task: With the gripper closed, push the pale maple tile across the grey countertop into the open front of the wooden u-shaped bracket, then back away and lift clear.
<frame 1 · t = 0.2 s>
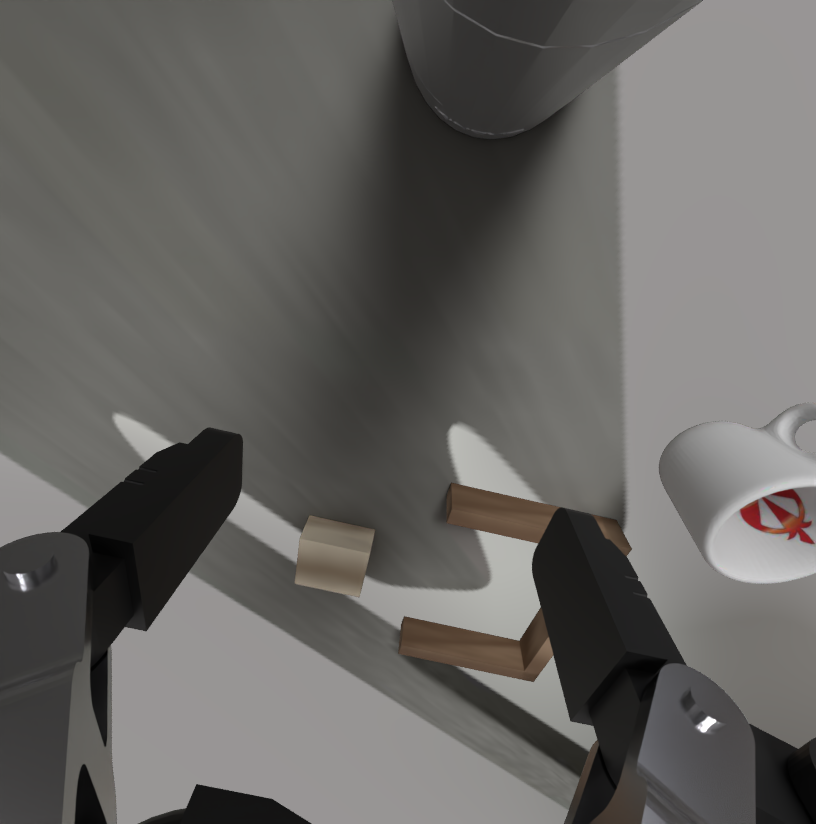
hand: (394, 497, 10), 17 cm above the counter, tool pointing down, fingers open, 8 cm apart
maple tile: (339, 542, 36), on the counter
wooden u-shaped bracket: (495, 579, 36), on the counter
cup: (715, 437, 28), on the counter
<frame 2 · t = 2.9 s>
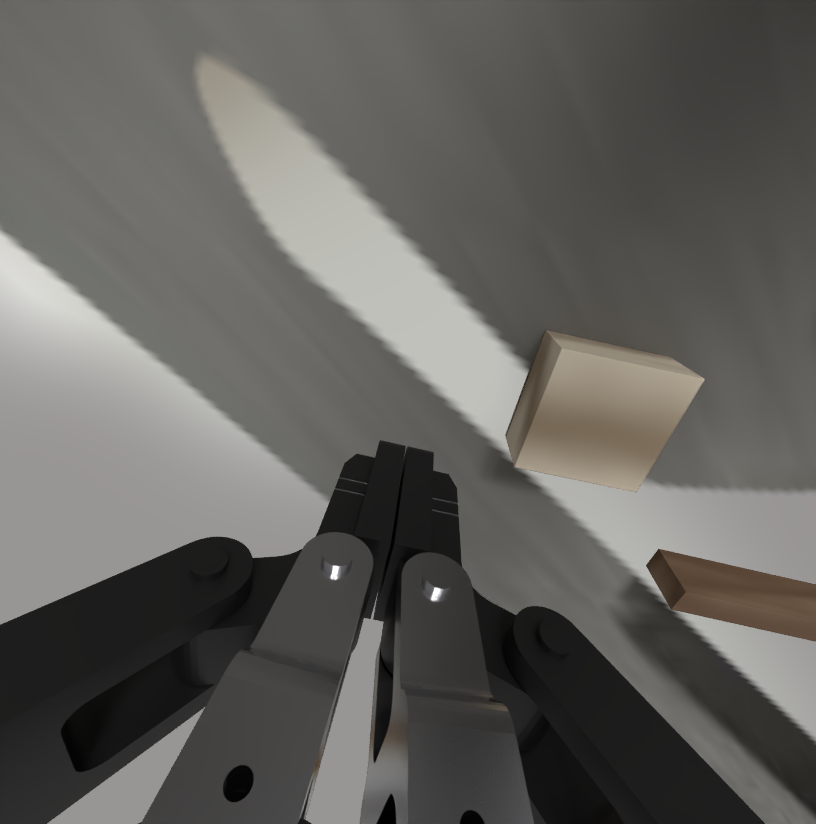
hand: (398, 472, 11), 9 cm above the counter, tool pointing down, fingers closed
maple tile: (580, 397, 20), on the counter
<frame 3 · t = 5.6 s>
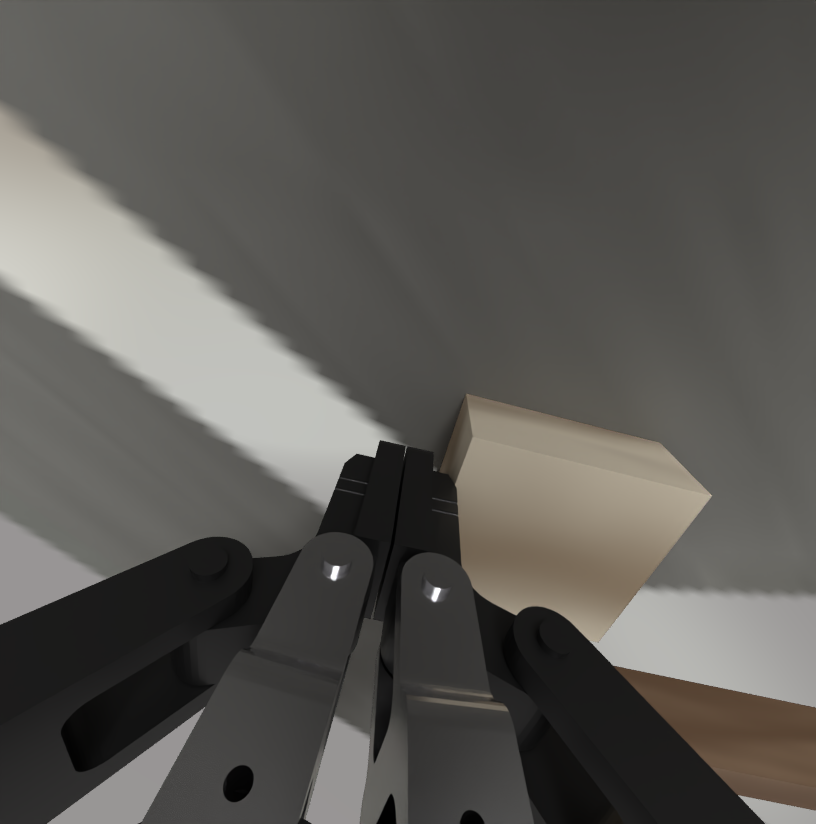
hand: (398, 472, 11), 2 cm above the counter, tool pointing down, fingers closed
maple tile: (523, 486, 13), on the counter
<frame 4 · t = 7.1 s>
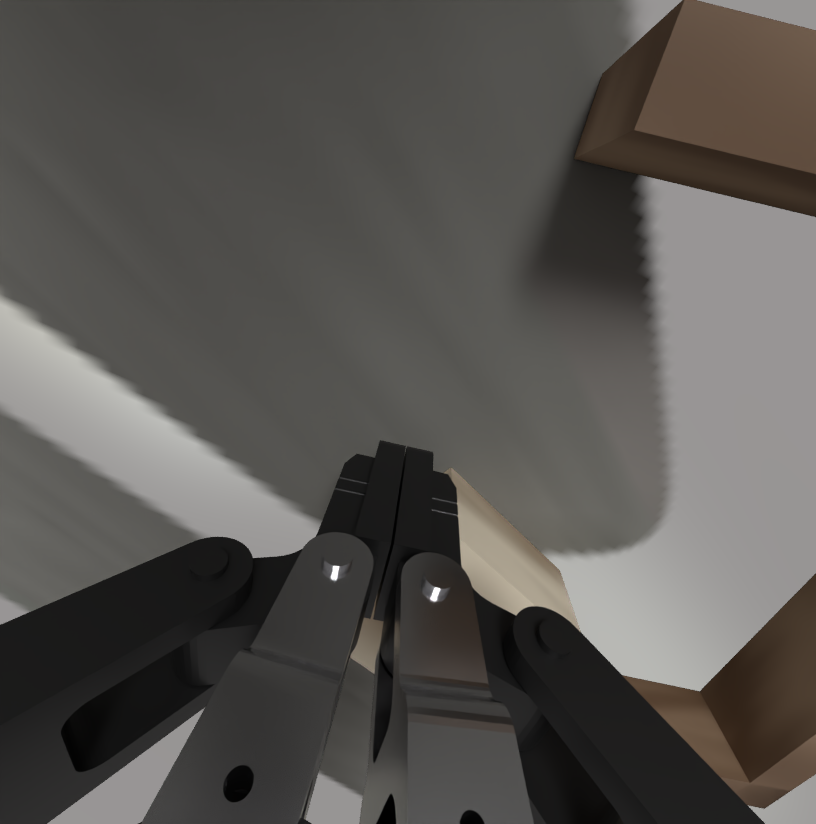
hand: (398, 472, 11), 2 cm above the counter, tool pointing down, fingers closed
maple tile: (443, 561, 14), on the counter, touching wooden u-shaped bracket, gripper
wooden u-shaped bracket: (678, 513, 13), on the counter
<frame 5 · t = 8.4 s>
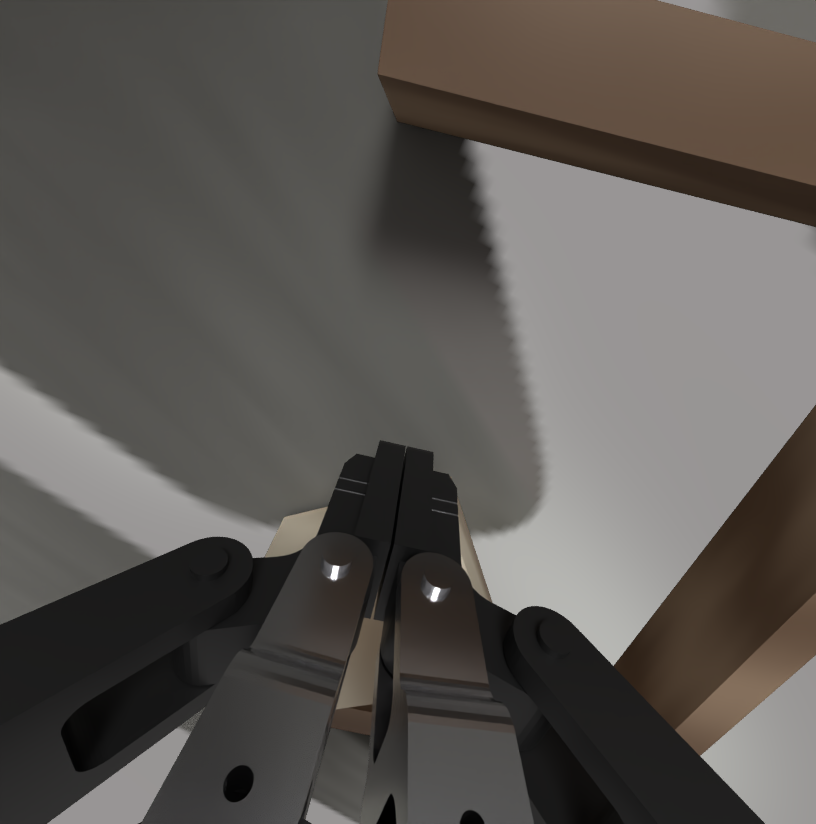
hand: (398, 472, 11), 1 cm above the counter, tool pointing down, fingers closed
maple tile: (393, 561, 14), on the counter, touching wooden u-shaped bracket, gripper
wooden u-shaped bracket: (556, 493, 12), on the counter
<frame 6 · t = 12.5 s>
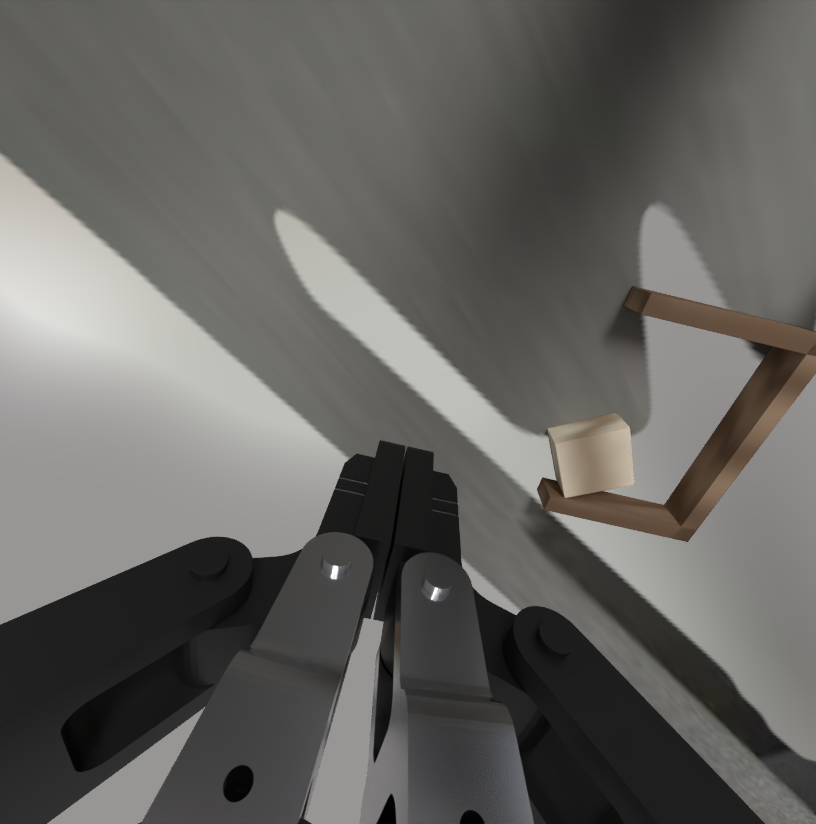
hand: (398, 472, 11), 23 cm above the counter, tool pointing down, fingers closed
maple tile: (584, 446, 36), on the counter
wooden u-shaped bracket: (654, 419, 34), on the counter
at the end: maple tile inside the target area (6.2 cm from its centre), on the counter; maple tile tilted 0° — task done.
